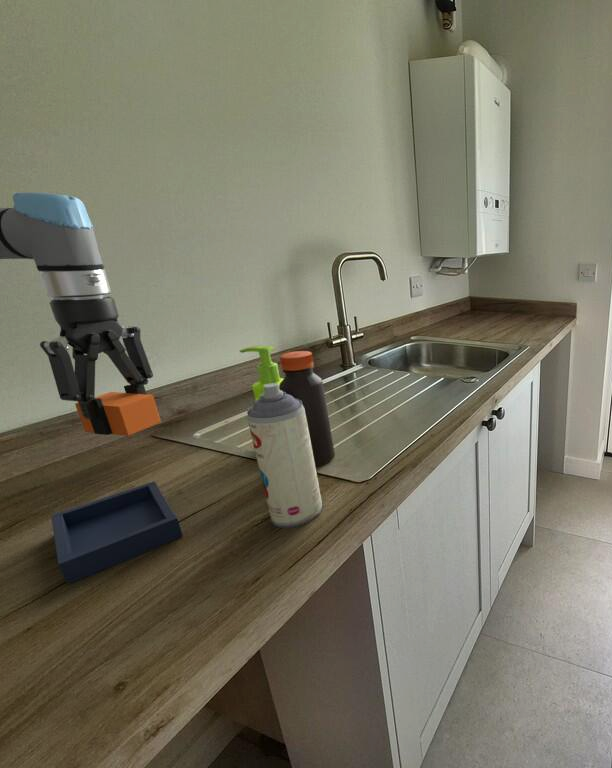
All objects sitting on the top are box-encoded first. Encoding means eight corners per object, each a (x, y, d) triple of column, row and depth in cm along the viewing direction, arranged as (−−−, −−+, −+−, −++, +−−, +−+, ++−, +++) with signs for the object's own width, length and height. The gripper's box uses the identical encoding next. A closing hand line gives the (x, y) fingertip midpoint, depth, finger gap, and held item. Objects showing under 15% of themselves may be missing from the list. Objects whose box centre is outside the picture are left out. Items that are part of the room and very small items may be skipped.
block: (85, 432, 72) (74, 403, 71) (120, 418, 78) (111, 391, 76) (128, 435, 71) (118, 406, 69) (161, 422, 77) (153, 394, 75)
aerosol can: (273, 505, 62) (244, 381, 55) (322, 494, 65) (300, 374, 58) (269, 533, 56) (236, 397, 50) (323, 519, 59) (298, 389, 52)
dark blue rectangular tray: (59, 533, 56) (51, 514, 55) (160, 497, 64) (154, 480, 63) (67, 585, 48) (58, 564, 47) (183, 536, 56) (177, 518, 55)
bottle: (291, 457, 76) (270, 353, 70) (330, 447, 80) (313, 347, 73) (298, 472, 71) (276, 362, 64) (339, 461, 75) (321, 355, 68)
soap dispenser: (272, 438, 83) (251, 343, 77) (305, 438, 83) (287, 343, 77) (254, 452, 78) (230, 350, 71) (290, 452, 78) (269, 351, 71)
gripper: (27, 305, 58) (81, 451, 65) (157, 291, 75) (188, 407, 83) (-16, 304, 59) (43, 448, 66) (122, 290, 76) (156, 405, 84)
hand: (123, 425), depth 74 cm, fingers closed on block, 6 cm apart
